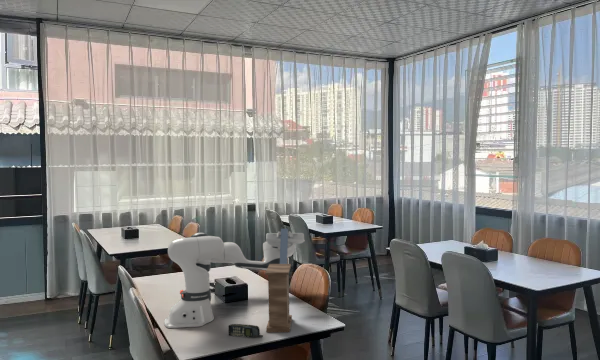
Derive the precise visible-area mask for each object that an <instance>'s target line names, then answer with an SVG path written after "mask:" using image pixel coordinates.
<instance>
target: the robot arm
mask: <svg viewBox="0 0 600 360" xmlns="http://www.w3.org/2000/svg"><path fill="white" fill-rule="evenodd" d="M280 242H281V231H277V233H276V232H274V233H273V232H268V233H266V234H265V240H264V241H263V243H262V252H263V261H260V260H259V261H258V260H249V259H248V258H246V256H245V255H244V253H243V251H242V248H241V247H240V246H239V245H238V244H237V243H235V242H231V241H226V242H224V241H223V239H222V238H221V237H220V236H213V235H209V234H208V233H205V232H196V233H194V234H192V235H191V236H190V237H182V238H177V239H175V240H172V241H171V242H169V245H168V248H167V255H168V258H169V259H170V260H171V261H172V262H174V263H175V264H177V265H178V266H179V267H180V268H181V270H182V272H183V275H184V284H185V285H184V286H185V290H184V289H181V290H180V291H179V294H180V295H181V296H180V300H178V301H177V302H176V303H175V304H173V305H172V306H171V308H170V310H169V314H168V316H167V317H165V319H164V322H163V324H164V327H165V328H168V329H177V328H194V327H195V328H197V327H202V326H205V325H206V324H208V323H210V322H212V321H213V320H214V319H215V317H214V316H215V315H214V313H213V310H212V309H213V307H212V304H211V302H212V293H211V289H210V281H211V280H210V271H211V268H212V264H211V263H214V264H215V263H216V264H221V263H223V264H225V263H229V264H230V263H231V264H233V265H234V266H235V267H236V268H240V269H244V270H257V271H265V272H266V270H267V268H268V266H269V264H280ZM304 242H306V238H305V234H304V233H303V232H291V231H289V230H288V253H287V258H289V257H292V256H293V255H294V253H295V252H296V244H299V245H300V244H303V243H304Z"/></svg>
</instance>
